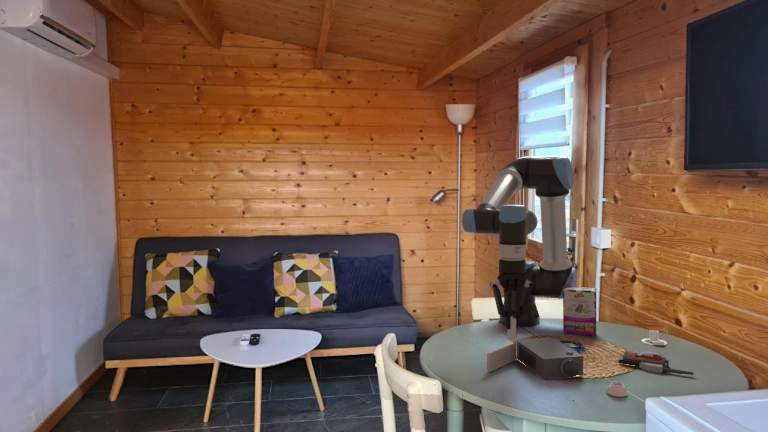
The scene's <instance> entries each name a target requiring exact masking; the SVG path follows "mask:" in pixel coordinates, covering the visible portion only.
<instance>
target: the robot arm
mask: <svg viewBox="0 0 768 432" xmlns="http://www.w3.org/2000/svg"><path fill="white" fill-rule="evenodd" d="M574 173H575V172H574V168H573V165H572V161H571V160H570V158H569V157H567V156H565V155H541V156H540V155H538V156H537V155H534V156H528V155H527V156H523V157H518V158H516V159H514V160H512V161H510V162H509V163H507V164H506V165H504V166H503V167H502V168H501V169H500V170H499V171H498V173H497V174H496V177H495V182H494V183H493V184H492V186H491V188H490V189H489V190H488V191H487V192H486V194H485V196H484V197H483V199H481V201H480V203H479V204H478V205H477V207H476V208H467V209H465V210H464V211H463V213H462V216H461V226H462V229H463V231H464V232H466V233H471V234H488V235H489V234H491V235H492V234H493V235H498V236H499V237H498V243H499V244H498V257H499V260H498V276H497V280H495V281H494V282H490V283H489V286H490V288H491V290H492V291H493V296H494V301H495V305H496V309H497V313H498V315H499V321H500V322H501V323H503V324H504V328H505V329H506V330H507V333H506V335H507V336H506V337H507V338H506V339H507V340H508V341H510V342H513V341H516V342H517V329H519V328H520V327H530V326H531V327H532V326H536V325H539V324H540V322H541V321H540V319H541V317H540V314H539V310H538V307H537V304H536V297H540V298H548V299H549V298H550V299H559V300H561V299H562V300H563V289H564V286H568V287H576V284H577V277H578V270H577V268H575V267H573V264H572V261H571V260H570V259H568V246H567V245H568V243H567V219H566V217H567V215H566V214H567V213H566V197H567V196H568V195H569V194H570V190H572V189H573V187H574V185H575V180H574V179H575V177H574V176H575V174H574ZM524 189H528V190H529V189H530V190H535V191H534V192H535V196H536V197H538V199H539V205H540V222H541V223H540V224H541V242H542V243H541V244H542V245H541V246H542V260H541V261H540V262H539V265H537V263H536V262H535V261H534V260H526V257H527V255H526V254H527V236H528V235H529V234H531V233H533V232H534V231H535V230H536V229H537V227H538V224H539V223H538V221H539V220H538V217H537V215H536V213H534V212H533V211H532V210H529V209H527V208H526V205H523V204H509V202H510V201H511V199H512V197H513V196H514V194H516V193H518V192H519V191H520V190H524ZM500 288H502V289H503V298H502V293H501V290H500Z"/></svg>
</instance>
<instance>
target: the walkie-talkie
mask: <svg viewBox="0 0 768 432" xmlns="http://www.w3.org/2000/svg"><path fill="white" fill-rule="evenodd" d="M617 360H618V363H619V364H622V363H623V364H629V365H635V366H636V367H635V368H638V369H639V368H640V369H641V370H643V371H646V372H649V373H650V372H651V373H658V374H662V373H672V374H679V375H682V374H683V375H690V376H694V374H695V373H694V372H693V371H688V370H687V371H686V370H681V369H676V368H675V369H674V368H669V363H670V362H669V359H667V357H665V356H662V354H661V353H659V352H653V351H648V350H647V351H644V352H641V353H639V352H638V351H637V350H635V351H633V352H630V351H624V353H623V354H622V359H617ZM623 364H622V365H623Z"/></svg>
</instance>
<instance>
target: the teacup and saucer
mask: <svg viewBox="0 0 768 432" xmlns="http://www.w3.org/2000/svg"><path fill="white" fill-rule="evenodd" d="M648 335H649V336H648V337H649V338H642V339H641V340H640V341H641V342H642V343H643V344H645V345H651V346H666V345H668V342H667V341H666V340H663V339H659V338H660V331H659V330H656V329H649V330H648ZM648 340H649V341H650V343H649V342H646V341H648Z"/></svg>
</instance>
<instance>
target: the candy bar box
mask: <svg viewBox="0 0 768 432" xmlns="http://www.w3.org/2000/svg"><path fill="white" fill-rule="evenodd" d="M562 300H563V303H562V308H563V309H562V311H563V313H562V314H563V315H562V319H563V321H562V322H563V324H562V325H563V326H562V329H563V331H562V332H563V334H569V335H580V336H593V337H596V335H597V287H586V286H585V287H583V286H575V287H568V286H564V289H563V299H562Z"/></svg>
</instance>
